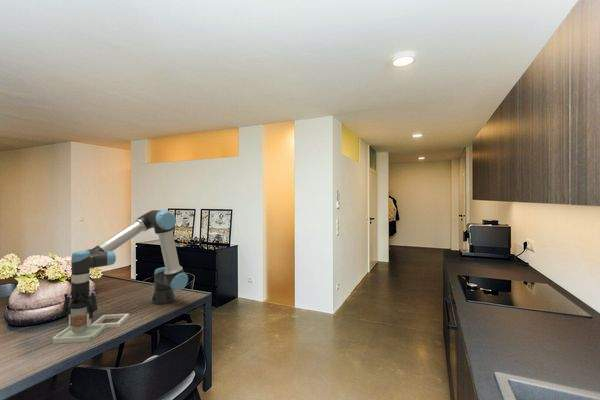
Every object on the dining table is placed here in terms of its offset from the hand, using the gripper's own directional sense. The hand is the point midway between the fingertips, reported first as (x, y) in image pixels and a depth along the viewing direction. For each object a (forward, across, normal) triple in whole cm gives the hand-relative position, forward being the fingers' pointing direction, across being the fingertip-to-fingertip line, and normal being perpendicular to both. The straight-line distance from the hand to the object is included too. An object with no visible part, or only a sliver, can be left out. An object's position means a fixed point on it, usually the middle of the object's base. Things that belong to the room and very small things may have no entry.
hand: (80, 325), depth 148 cm
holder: (+5, -8, -15) cm, 18 cm away
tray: (+5, 0, 0) cm, 5 cm away
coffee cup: (+3, 0, 0) cm, 3 cm away
